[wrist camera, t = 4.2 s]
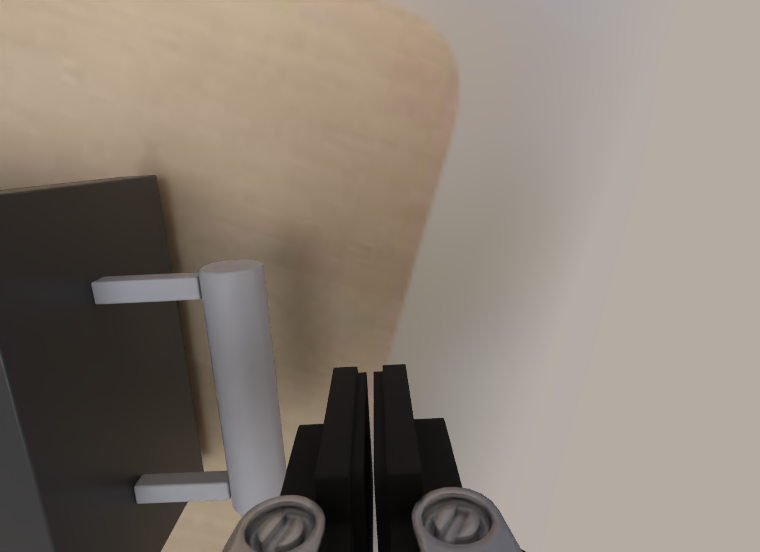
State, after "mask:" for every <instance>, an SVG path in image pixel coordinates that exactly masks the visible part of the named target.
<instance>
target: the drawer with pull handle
mask: <svg viewBox="0 0 760 552" xmlns="http://www.w3.org/2000/svg"><path fill="white" fill-rule="evenodd" d="M201 298H202V300H203V307H204V314H205V321H206V328H207V335H208V341H209V348H210V355H211V362H212V369H213V375H214V382H215V389H216V396H217V403H218V409H219V416H220V423H221V430H222V437H223V443H224V450H225V457H226V464H227V471H211V472H204V469H203V463H202V457H201V451H200V444H199V438H198V432H197V426H196V420H195V413H194V407H193V401H192V395H191V389H190V382H189V376H188V370H187V364H186V358H185V351H184V345H183V339H182V333H181V327H180V320H179V314H178V308H177V302H176V301H182V300H199V299H201ZM285 475H286V462H285V453H284V445H283V436H282V427H281V418H280V409H279V400H278V391H277V382H276V373H275V364H274V355H273V346H272V337H271V328H270V319H269V310H268V301H267V292H266V283H265V274H264V265H263V263H262V262H261V261H258V260H253V259H234V260H225V261H219V262H214V263H211V264H208V265H205V266H203V267H201V268H200V269H199V272H194V273H172V271H171V265H170V258H169V252H168V246H167V240H166V234H165V227H164V221H163V215H162V209H161V203H160V196H159V190H158V184H157V178H156V176H155V175H150V176H130V177H116V178H107V179H98V180H89V181H80V182H71V183H61V184H52V185H43V186H34V187H25V188H16V189H7V190H0V552H161V550H162V548H163V546H164V545H165V543H166V541H167V539H168V537H169V535H170V533H171V532H172V530H173V528H174V526H175V524H176V522H177V521H178V519H179V517H180V515H181V513H182V511H183V510H184V508H185V506H186V504H187V502H192V501H216V500H229V499H230V497H231V498H232V505H233V508H234V509H235V511H236V512H237V513H238V514H240V515H242V516H244V514H245V513H246V512H248V511H249V510H250V509H251V508H253V507H254V506H255V505H257V504H259V503H261V502H263V501H265V500H267V499H270V498H274V497H278V496H280V493H281V490H282V486H283V482H284V478H285Z"/></svg>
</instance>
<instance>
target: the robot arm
mask: <svg viewBox="0 0 760 552" xmlns="http://www.w3.org/2000/svg"><path fill="white" fill-rule="evenodd" d="M374 486H375V504H376V521H377V536H378V537H377V538H378V552H525V551H524V550H522V549H520V547H519V545H518V543H517V541H516V540H515V538H514V536H513V534H512V533H511V531H510V529H509V527H508V525H507V524H506V522H505V520H504V518H503V517H502V515H501V513H500V511H499V510H498V508H497V507H496V506H495V505H494V503H493V502H492V501H491V500H489V499H488V498H487V497H485V496H484V495H482V494H481V493H478V492H475V491H473V490H470V489H466V488H462V485H461V481H460V477H459V473H458V470H457V466H456V462H455V458H454V455H453V451H452V447H451V443H450V439H449V436H448V432H447V428H446V424H445V421H444V418H432V419H414V418H413V411H412V405H411V398H410V391H409V385H408V379H407V371H406V365H405V364H401V365H383V372H374ZM222 552H373V472H372V455H371V438H370V422H369V405H368V388H367V373H366V372H363V373H358V369H357V367H339V368H334V369H333V375H332V381H331V386H330V392H329V397H328V403H327V409H326V414H325V420H324V424H311V425H300V426H299V427H298V430H297V434H296V437H295V441H294V445H293V449H292V452H291V456H290V460H289V464H288V467H287V471H286V475H285V478H284V482H283V486H282V490H281V493H280V496H278V497H274V498H270V499H267V500H265V501H263V502H261V503H259V504H257V505H255V506H254V507H253V508H251V509H250V510H249V511H248V512H246V513H245V514H244V516H243V517H242V518H241V520H240V521H239V522H238V524H237V526H236V527H235V529H234V531H233V533H232V535H231V536H230V538H229V540H228V542H227V544H226V545H225V547H224V549H223V551H222Z"/></svg>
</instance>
